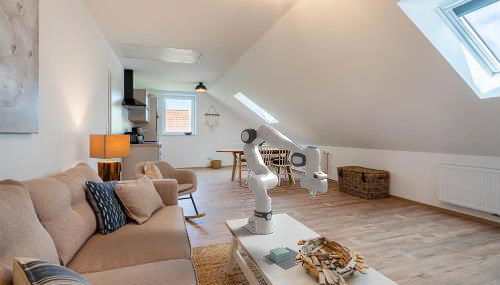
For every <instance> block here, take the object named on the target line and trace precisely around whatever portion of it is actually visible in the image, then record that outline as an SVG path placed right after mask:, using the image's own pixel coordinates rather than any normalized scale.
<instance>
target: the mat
mask: <svg viewBox="0 0 500 285" xmlns="http://www.w3.org/2000/svg"><path fill="white" fill-rule="evenodd" d="M284 248H285V249H286V250H288V251H289V252H290V259H289V260H286V261H282V262H278V263H276V262H275V261H274V260H273V259H271V258H270V253H269V254H266V255H263V258H264V259H265V258H266V259H267V260H269V261H270V262H271V263H273V264H275V265H277V266H279V267H280V268H281V269H283V270H285V271H287V270H289V269H291V268H294V267H295V266H299V264H296V263H295V258H296V256H297V255H298V253H299V252H298V251H296V250H293V249H291V248H290V247H284Z"/></svg>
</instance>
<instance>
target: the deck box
mask: <svg viewBox="0 0 500 285" xmlns="http://www.w3.org/2000/svg"><path fill="white" fill-rule="evenodd" d="M285 248H286V247H284V246H281V247H277V248H276V247H275V248H273V249H269V254H270V258H271V259H273V260H274V261H275V262H276V263H278V262H282V261H286V260H289V259H290V252H289V251H288V250H286V249H285Z"/></svg>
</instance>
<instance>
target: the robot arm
mask: <svg viewBox="0 0 500 285" xmlns="http://www.w3.org/2000/svg"><path fill="white" fill-rule="evenodd" d="M240 139H241V141H242V142H243V144H244V145H243V147H242V150H243V151H242V152H243V154H244V158H245V161H246V164H247V166H248V168H249V171H251V172H253V173H254V174H255V175H253V176H251V177H250V178H248V180H247V187H248V189H249V191H250V192H252V194H253V196H254V201H255V202H254V203H255V209H254V210H253V211H252V212H253V214H252V215H251V216H250V217H249V218H248V219H247V223H245V224H244V225H243V226H244V228H246V230H247V231H249V232H250V233H251V234H255V235H257V234H259V235H268V234H269V235H270V234H272V233H273V232H274V231H275V226H274V218H273V209H272V197H270V196H269V195H268V191H267V190H271V189H274V188H275V187H277V186H278V183H279V178H278V176H277V175H276V174H275V173H273V172H272V171H271V170H270V169H269V168H268V166H267V165H266V163H265V162H264V159H263V157H262V155H261V153H260V150H259V147H262V146H263V145H264V144H265V143H266V144H267V145H269V146H270V147H272V148H275V149H282V150H285V151H286V150H287V151H289V152H291V153H292V154H291V156H290V162H291V164H292V166H293V167H295V168H304V170H305V172H304V171H303V172H301V175H300V180H299V181H300V182H299V185H300V187H301V188H305V189H308V193H309V197H310V198H314V199H315V198H316V196H317V193H318V192H319V193H322V194H323V193H327V192H328V187H329V186H328V185H329V184H328V175H327V174H326V173H325V172H323V171H322V168H321V162H322V160H321V159H322V157H321V150H320V148H319V147H316V146H312V145H308V146H306V147H305V148H303V147H301V145H299V144H298V143H295V142H294V141H292V140H291V139H290V138H288V137H287V136H285V135H284V134H283V133H281V132H280V131H279V130H277V129H276V128H274V127H273V126H271V125H270V124H267V123H263V124H260V126H259V127H258V128H247V129H246V128H245V129H243V130H242V131H241V133H240Z"/></svg>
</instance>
